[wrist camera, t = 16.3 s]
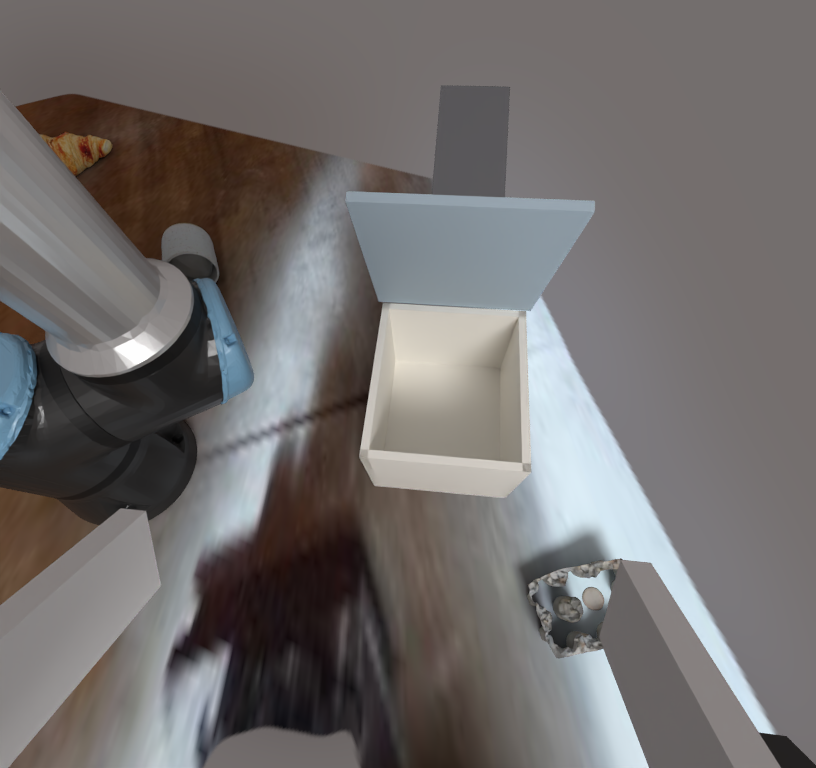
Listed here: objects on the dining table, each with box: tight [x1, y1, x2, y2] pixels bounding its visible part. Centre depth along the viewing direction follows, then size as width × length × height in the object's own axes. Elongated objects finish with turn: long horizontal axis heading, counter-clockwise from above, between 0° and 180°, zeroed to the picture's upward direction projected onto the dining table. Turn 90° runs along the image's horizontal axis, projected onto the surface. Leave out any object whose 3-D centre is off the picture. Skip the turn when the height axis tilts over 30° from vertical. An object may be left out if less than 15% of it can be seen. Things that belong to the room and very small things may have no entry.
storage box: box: [359, 303, 531, 498], centre depth 47 cm, size 18×16×13 cm
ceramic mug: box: [161, 223, 219, 283], centre depth 62 cm, size 11×8×8 cm
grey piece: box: [527, 558, 622, 658], centre depth 42 cm, size 11×8×4 cm
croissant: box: [40, 132, 112, 176], centre depth 76 cm, size 21×10×8 cm, turn 123°
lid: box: [345, 86, 595, 311], centre depth 37 cm, size 18×17×10 cm
